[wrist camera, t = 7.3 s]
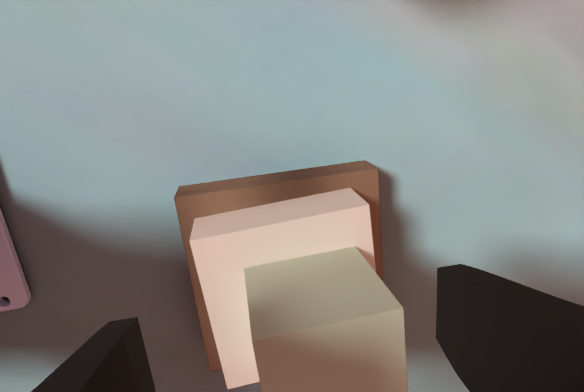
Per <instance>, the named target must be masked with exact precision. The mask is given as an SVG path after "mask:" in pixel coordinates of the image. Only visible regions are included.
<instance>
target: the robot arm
mask: <svg viewBox="0 0 584 392" xmlns="http://www.w3.org/2000/svg"><path fill="white" fill-rule="evenodd" d="M2 297H7V298H9V300H10V302H6V301H4V300H3V298H2ZM30 299H31V293H30V291H29V288H28V285H27V282H26V279H25V276H24V273H23V271H22V268H21V265H20V262H19V259H18V256H17V254H16V251H15V248H14V245H13V242H12V239H11V237H10V234H9V231H8V228H7V225H6V222H5V220H4V217H3V214H2V211H1V208H0V312H2V311H8V310H14V309H20V308H22V307H24V306H25V305H27V303H28V302H29V301H30ZM436 339H437V340H438V342H439V344H440V346H441V348H442V349H443V351H444V353H445V355H446V357H447V358H448V360H449V362H450V363H451V365H452V367H453V368H454V370H455V372H456V373H457V375H458V376H459V378H460V379H461V380H462V382H463V383H464V385H465V386H466V387H467V389H468V390H469V391H470V392H584V306H581V305H578V304H575V303H572V302H569V301H566V300H563V299H560V298H557V297H554V296H552V295H549V294H546V293H543V292H540V291H538V290H535V289H532V288H529V287H527V286H524V285H521V284H519V283H516V282H513V281H510V280H508V279H505V278H502V277H500V276H497V275H494V274H491V273H488V272H485V271H483V270H480V269H476V268H473V267H470V266H466V265H462V264H458V265H452V266H446V267H440V268H437V320H436ZM31 392H155V387H154V383H153V379H152V375H151V371H150V367H149V363H148V358H147V354H146V350H145V346H144V342H143V338H142V334H141V330H140V326H139V322H138V318H137V317H135V318H129V319H123V320H117V321H111V322H109V323H107V324H106V325H105V326H104V327H102V328H101V329H100V330H99V331H98V332H97V333H95V334H94V335H93V336H92V337H91V338H90V339H89V340H88V341H87V342H85V343H84V344H83V345H82V346H81V347H80V348H79V349H78V350H77V351H76V352H75V353H74V354H72V355H71V356H70V357H69V358H68V359H67V360H66V361H65V362H64V363H63V364H61V365H60V366H59V367H58V368H57V369H56V370H55V371H54V372H53V373H52V374H50V375H49V376H48V377H47V378H46V379H45V380H44V381H43V382H42V383H41V384H39V385H38V386H37V387H36V388H35V389H34V390H33V391H31Z"/></svg>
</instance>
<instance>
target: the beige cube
mask: <svg viewBox="0 0 584 392" xmlns="http://www.w3.org/2000/svg"><path fill="white" fill-rule="evenodd" d="M244 274H245V283H246V292H247V301H248V310H249V320H250V329H251V338H252V344H253V350H254V355H255V360H256V365H257V370H258V375H259V380H260V386H261V391H262V392H408V388H407V369H406V350H405V330H404V311H403V307H402V306H401V304H400V303H399V302H398V301H397V299H396V298H395V297H394V295H393V294H392V293H391V292H390V290H389V289H388V288H387V287H386V285H385V284H384V283H383V281H382V280H381V279H380V278H379V276H378V275H377V274H376V272H375V271H374V270H373V269H372V267H371V266H370V265H369V263H368V262H367V261H366V260H365V258H364V257H363V256H362V254H361V253H360V252H359V251H358V249H357V248H356V247H355V246H354V247H349V248H344V249H339V250H334V251H329V252H323V253H318V254H313V255H308V256H303V257H298V258H293V259H288V260H283V261H278V262H273V263H268V264H262V265H257V266H252V267H247V268H244Z"/></svg>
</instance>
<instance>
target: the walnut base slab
mask: <svg viewBox="0 0 584 392" xmlns="http://www.w3.org/2000/svg"><path fill="white" fill-rule="evenodd" d="M346 188H351V189H352V190H354V191H355V192H356V193H357V194H358V195H359V196H360V197H361V198H362V199H364V200H365V201H366V202H367V203H368V204H369V208H370V218H371V228H372V238H373V248H374V258H375V268H376V274H377V275H378V276H379V278H380V279H381V280H382V281H383V279H382V254H381V230H380V205H379V180H378V168H376V167H375V166H373V165H371V164H370V163H368V162H367V161H365V160H364V161H357V162H349V163H342V164H335V165H328V166H321V167H314V168H307V169H300V170H293V171H286V172H278V173H271V174H264V175H257V176H250V177H243V178H236V179H229V180H222V181H214V182H207V183H200V184H193V185H186V186H179V188H178V190H177V192H176V195H175V197H174V200H175V205H176V210H177V215H178V219H179V224H180V229H181V234H182V239H183V244H184V249H185V253H186V258H187V263H188V268H189V273H190V278H191V283H192V288H193V292H194V297H195V302H196V307H197V312H198V317H199V322H200V326H201V331H202V336H203V341H204V346H205V351H206V356H207V361H208V365H209V370H210V371H213V370H218V369H222V366H221V362H220V358H219V354H218V350H217V346H216V342H215V339H214V335H213V331H212V327H211V323H210V319H209V315H208V311H207V308H206V304H205V300H204V296H203V292H202V288H201V284H200V280H199V277H198V273H197V269H196V265H195V261H194V257H193V253H192V249H191V246H190V242H189V241H190V236H191V232H192V228H193V223H194V219H195V218H200V217H205V216H210V215H215V214H220V213H225V212H230V211H235V210H240V209H245V208H250V207H255V206H260V205H265V204H270V203H275V202H280V201H285V200H290V199H295V198H300V197H305V196H310V195H315V194H320V193H326V192H331V191H336V190H341V189H346Z"/></svg>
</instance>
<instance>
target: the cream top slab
mask: <svg viewBox="0 0 584 392" xmlns="http://www.w3.org/2000/svg"><path fill="white" fill-rule="evenodd" d="M189 242H190V246H191V249H192V253H193V257H194V261H195V265H196V269H197V273H198V277H199V280H200V284H201V288H202V292H203V296H204V300H205V304H206V308H207V311H208V315H209V319H210V323H211V327H212V331H213V335H214V339H215V342H216V346H217V350H218V354H219V358H220V362H221V366H222V370H223V373H224V377H225V381H226V385H227V389H232V388H236V387H240V386H244V385H248V384H252V383H256V382H260V380H259V375H258V370H257V365H256V360H255V355H254V350H253V344H252V338H251V329H250V320H249V310H248V301H247V292H246V283H245V274H244V268H247V267H252V266H257V265H262V264H268V263H273V262H278V261H283V260H288V259H293V258H298V257H303V256H308V255H313V254H318V253H323V252H329V251H334V250H339V249H344V248H349V247H354V246H355V247H356V248H357V249H358V251H359V252H360V253H361V254H362V256H363V257H364V258H365V260H366V261H367V262H368V263H369V265H370V266H371V267H372V269H373V270H374V271H375V272H376V268H375V258H374V248H373V238H372V228H371V218H370V208H369V204H368V203H367V202H366V201H365V200H364V199H362V198H361V197H360V196H359V195H358V194H357V193H356V192H355V191H354V190H352V189H351V188H346V189H341V190H336V191H331V192H326V193H320V194H315V195H310V196H305V197H300V198H295V199H290V200H285V201H280V202H275V203H270V204H265V205H260V206H255V207H250V208H245V209H240V210H235V211H230V212H225V213H220V214H215V215H210V216H205V217H200V218H195V219H194V223H193V228H192V232H191V236H190V241H189Z"/></svg>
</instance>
